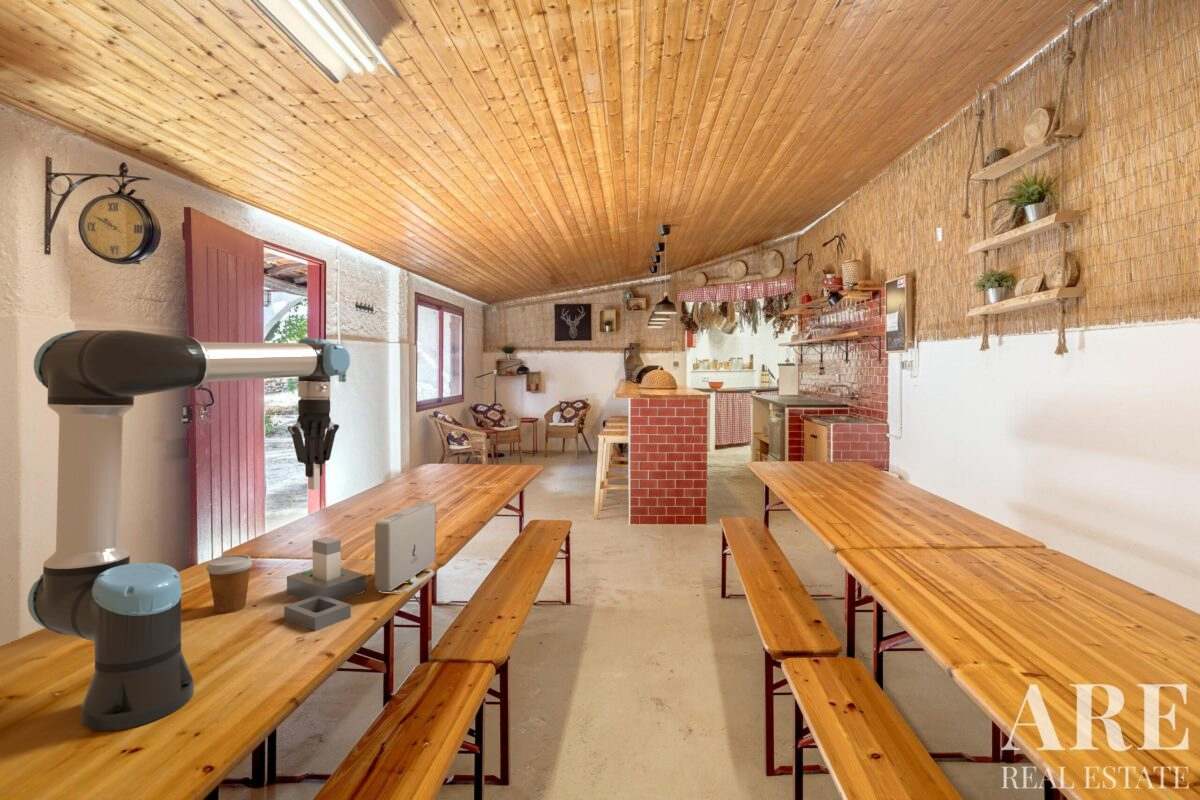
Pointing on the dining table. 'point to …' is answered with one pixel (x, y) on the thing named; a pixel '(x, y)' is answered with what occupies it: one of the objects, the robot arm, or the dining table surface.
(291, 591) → the port block
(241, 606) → the disposable coffee cup
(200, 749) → the dining table surface
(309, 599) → the holder
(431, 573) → the network device
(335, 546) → the plug
